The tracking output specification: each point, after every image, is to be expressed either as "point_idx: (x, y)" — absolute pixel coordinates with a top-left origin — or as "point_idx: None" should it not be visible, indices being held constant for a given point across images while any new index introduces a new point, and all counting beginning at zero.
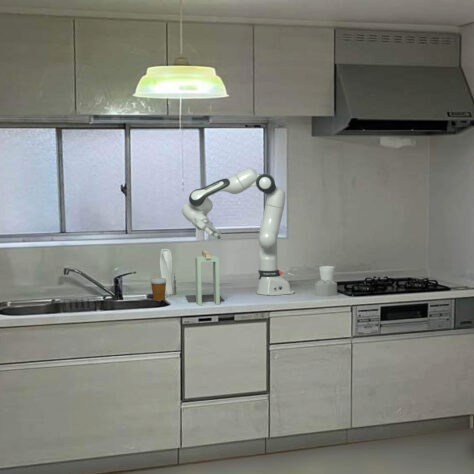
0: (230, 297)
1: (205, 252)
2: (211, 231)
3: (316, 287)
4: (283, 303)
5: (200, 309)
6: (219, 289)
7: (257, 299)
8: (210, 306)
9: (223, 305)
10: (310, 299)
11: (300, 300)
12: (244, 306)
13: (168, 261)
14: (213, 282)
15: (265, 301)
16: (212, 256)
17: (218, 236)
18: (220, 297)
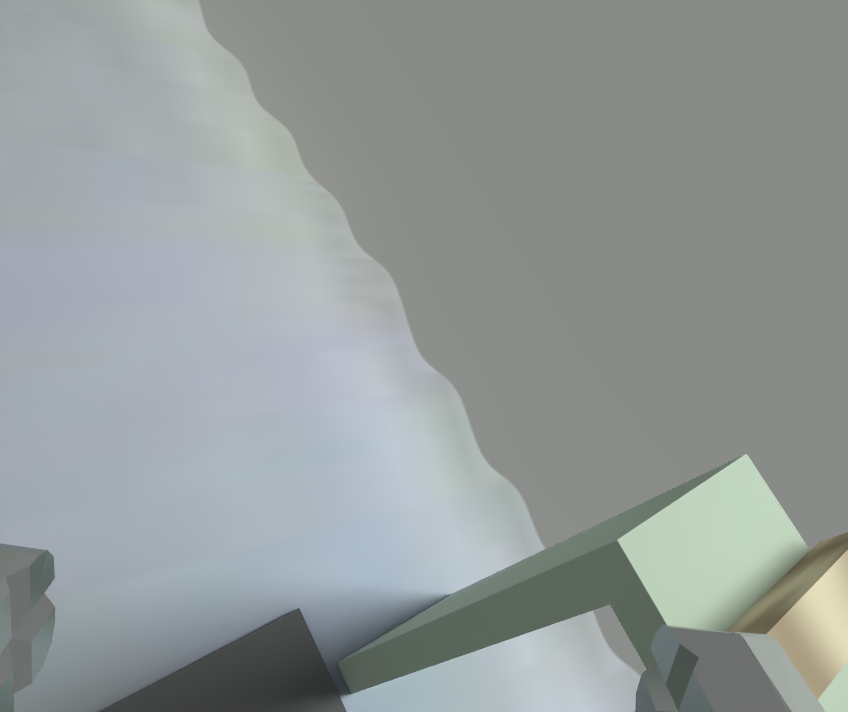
0: (84, 606)
1: (824, 656)
2: (799, 685)
3: None
4: (298, 196)
5: (635, 674)
6: (520, 561)
7: (170, 349)
8: (529, 642)
9: (468, 556)
10: (123, 40)
11: (171, 96)
12: (454, 409)
13: None
14: (441, 661)
15: (249, 293)
16: (686, 580)
17: (7, 633)
18: (169, 692)
